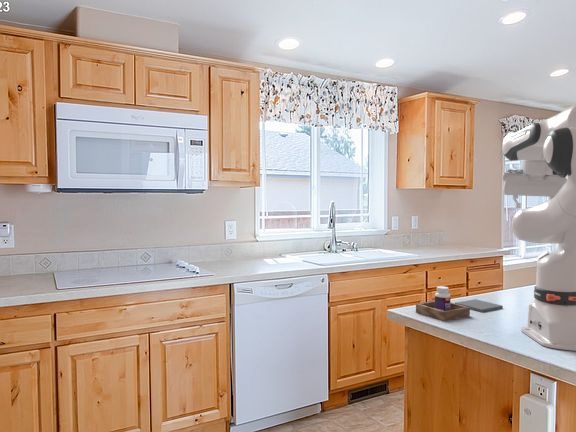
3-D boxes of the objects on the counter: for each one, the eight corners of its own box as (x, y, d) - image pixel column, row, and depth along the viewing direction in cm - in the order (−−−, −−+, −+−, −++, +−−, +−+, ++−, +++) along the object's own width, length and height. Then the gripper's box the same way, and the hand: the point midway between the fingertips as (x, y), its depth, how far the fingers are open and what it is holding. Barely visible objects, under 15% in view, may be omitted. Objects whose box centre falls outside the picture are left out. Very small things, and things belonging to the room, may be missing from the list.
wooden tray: (469, 315, 154) (469, 307, 154) (444, 320, 148) (444, 312, 148) (440, 307, 166) (440, 299, 166) (415, 312, 160) (415, 303, 159)
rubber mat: (502, 308, 165) (502, 305, 165) (481, 312, 159) (481, 309, 159) (475, 301, 176) (475, 299, 176) (454, 305, 170) (454, 302, 170)
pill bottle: (447, 316, 153) (448, 289, 153) (432, 314, 156) (432, 287, 156) (452, 313, 158) (452, 287, 157) (437, 311, 161) (437, 285, 160)
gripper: (505, 169, 154) (502, 208, 156) (571, 170, 148) (567, 211, 150) (502, 169, 160) (499, 206, 162) (565, 170, 154) (562, 209, 156)
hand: (532, 208), depth 156 cm, fingers open, 8 cm apart
